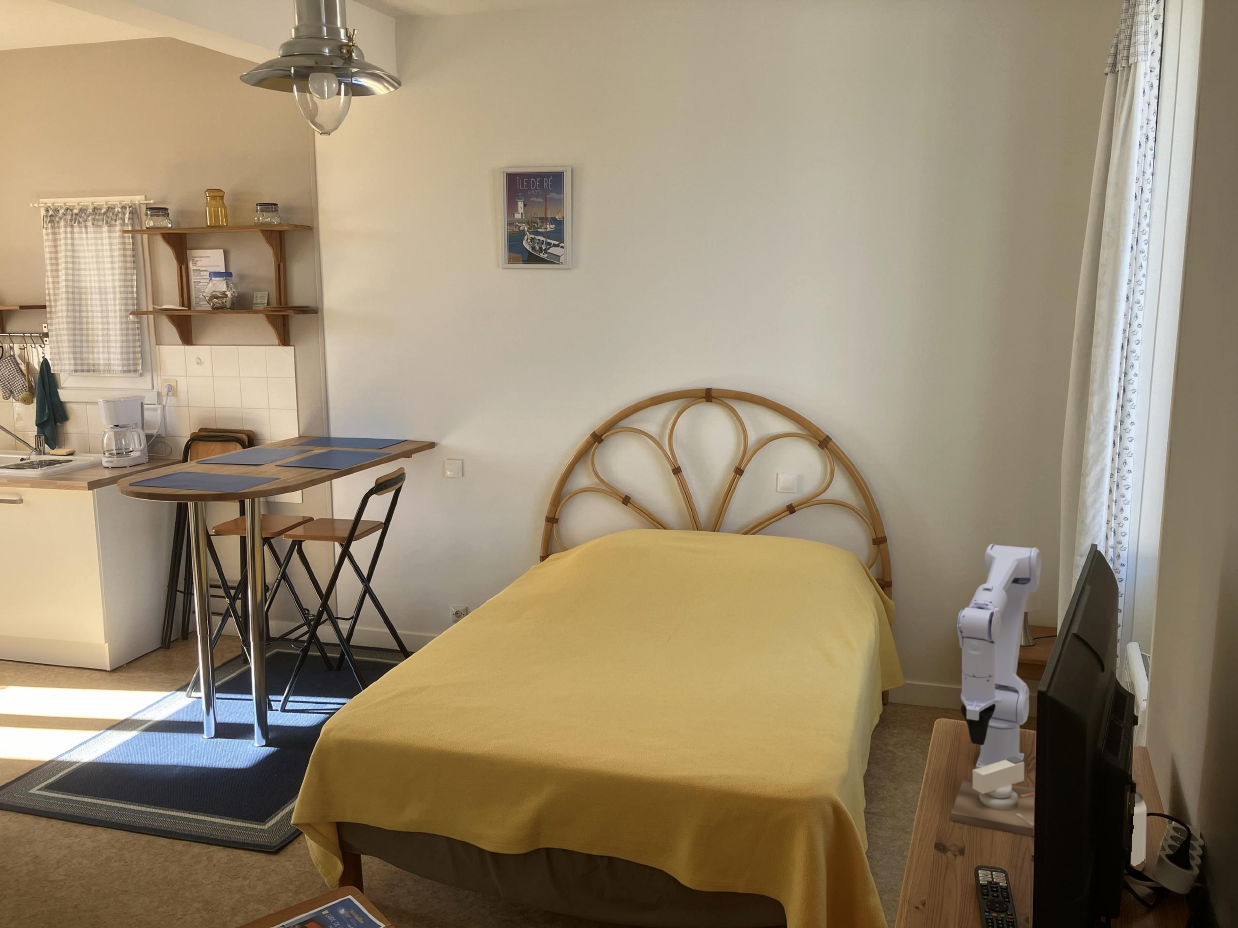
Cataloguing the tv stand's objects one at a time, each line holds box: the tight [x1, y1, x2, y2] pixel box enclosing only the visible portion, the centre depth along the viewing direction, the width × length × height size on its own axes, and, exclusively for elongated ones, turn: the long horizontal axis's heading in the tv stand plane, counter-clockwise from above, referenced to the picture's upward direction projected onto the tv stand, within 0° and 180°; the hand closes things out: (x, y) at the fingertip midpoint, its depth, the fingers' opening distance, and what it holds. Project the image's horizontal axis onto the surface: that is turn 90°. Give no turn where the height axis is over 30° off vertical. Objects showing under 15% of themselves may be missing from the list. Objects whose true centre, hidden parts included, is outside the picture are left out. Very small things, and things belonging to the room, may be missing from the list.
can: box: [1129, 790, 1147, 866], centre depth 153 cm, size 6×6×12 cm
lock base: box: [950, 776, 1035, 837], centre depth 172 cm, size 15×14×3 cm
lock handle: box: [972, 756, 1025, 798], centre depth 172 cm, size 10×4×5 cm, turn 115°
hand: (978, 742), depth 176 cm, fingers closed
